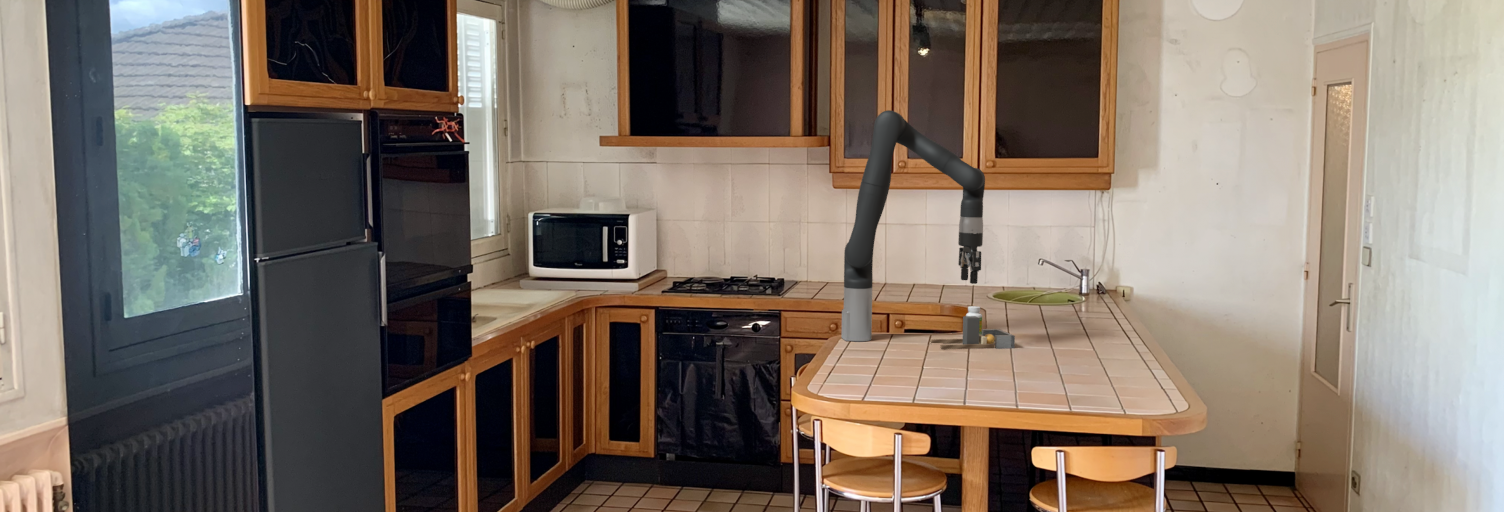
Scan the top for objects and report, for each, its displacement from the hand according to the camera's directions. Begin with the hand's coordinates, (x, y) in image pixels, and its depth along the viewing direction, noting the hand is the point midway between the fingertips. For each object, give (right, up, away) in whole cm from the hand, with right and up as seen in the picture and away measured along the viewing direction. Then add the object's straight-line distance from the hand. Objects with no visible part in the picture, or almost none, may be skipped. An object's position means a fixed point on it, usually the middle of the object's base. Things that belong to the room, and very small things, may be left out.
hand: (968, 281), depth 368 cm
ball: (+7, -19, +2) cm, 20 cm away
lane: (-2, -20, +1) cm, 20 cm away
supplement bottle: (+5, -19, +20) cm, 28 cm away
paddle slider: (+2, -20, +2) cm, 20 cm away
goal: (+10, -20, +3) cm, 23 cm away
